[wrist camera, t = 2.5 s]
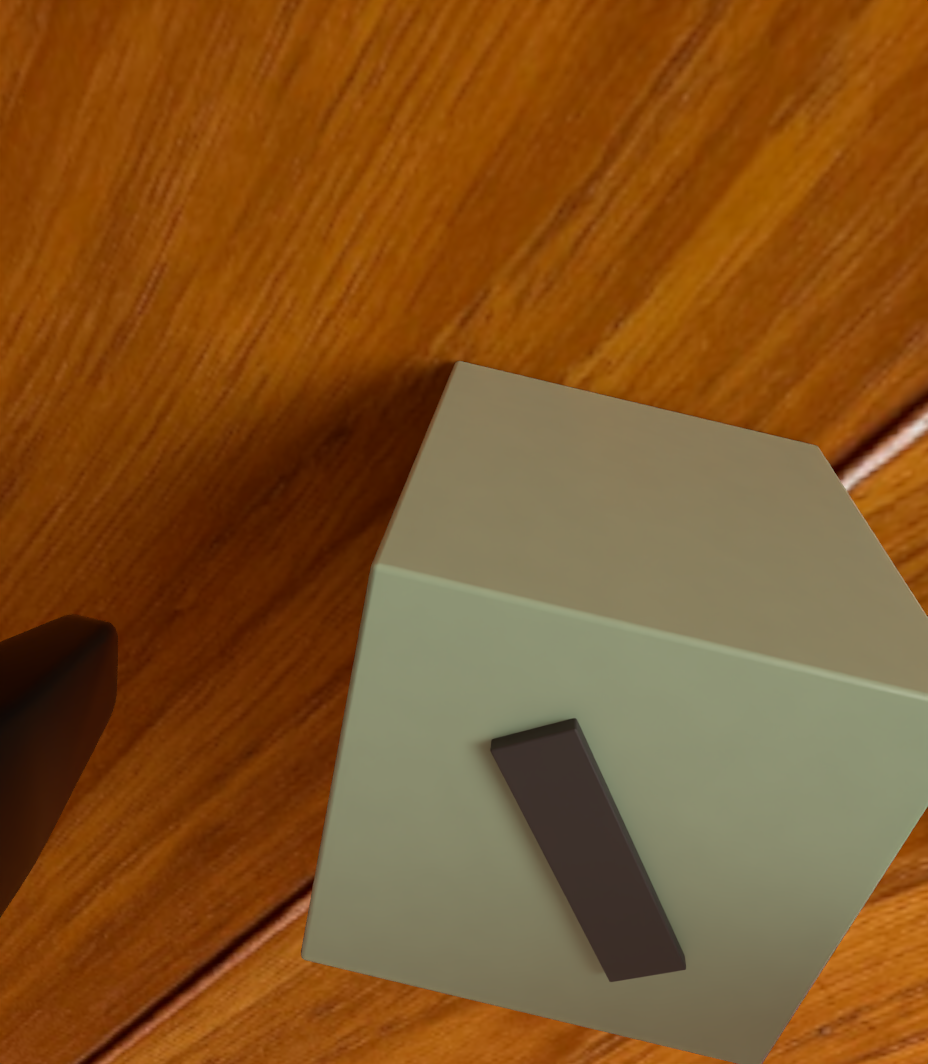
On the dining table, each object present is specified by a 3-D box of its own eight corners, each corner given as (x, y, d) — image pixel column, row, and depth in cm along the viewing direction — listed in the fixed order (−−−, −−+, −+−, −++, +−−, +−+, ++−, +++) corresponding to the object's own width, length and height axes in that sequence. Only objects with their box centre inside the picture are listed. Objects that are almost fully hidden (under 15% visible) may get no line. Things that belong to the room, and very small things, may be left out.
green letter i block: (395, 653, 13) (294, 972, 8) (455, 358, 11) (367, 573, 6) (696, 725, 13) (763, 1086, 8) (819, 444, 11) (1000, 723, 6)
